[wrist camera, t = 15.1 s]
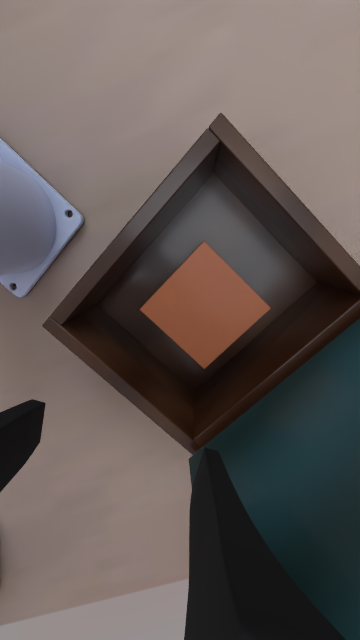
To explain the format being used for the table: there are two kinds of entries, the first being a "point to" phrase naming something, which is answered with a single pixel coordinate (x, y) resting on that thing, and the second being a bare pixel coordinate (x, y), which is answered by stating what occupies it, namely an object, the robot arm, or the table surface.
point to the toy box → (243, 257)
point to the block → (205, 306)
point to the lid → (306, 476)
